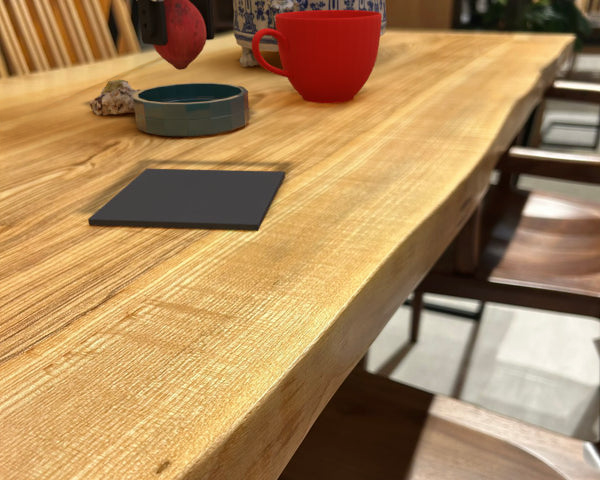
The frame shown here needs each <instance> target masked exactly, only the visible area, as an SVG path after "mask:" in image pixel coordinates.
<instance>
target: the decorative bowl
mask: <svg viewBox="0 0 600 480" xmlns="http://www.w3.org/2000/svg"><path fill="white" fill-rule="evenodd" d="M232 4H233V5H232V6H233V7H232V8H233V27H232V28H233V36H234V38H235V42H236V44H237V45H238V46H240V47H241V50H242V51H241V56H240V58H239V64H240V66H241V68H243V67H244V68H249V67H254V66H259V65H260V64H259V63H258V62H257V60H256V59H255V57H254V55H253V52H252V39H253V37H254V35H255V34H256V32H258V31H259V30H261V29H266V28H269V29H274V30H276V22H275V15H277V14H280V13H287V12H298V11H316V10H361V11H374V12H379V13H381V16H382V20H381V32H380V37H383V36H384V35H385V34H386V28H387V8H386V7H387V6H386V0H232ZM259 50H260V51H265V52H275V53H276V52H277V53H279V49H278V42H277V40H276V38H274V37H273V36H271V35H265V36H263V37H262V38H261V40H260V43H259Z"/></svg>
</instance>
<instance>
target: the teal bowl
mask: <svg viewBox="0 0 600 480" xmlns="http://www.w3.org/2000/svg"><path fill="white" fill-rule="evenodd" d="M139 90H140V91H138V92H136V93H134V94H133V102H134V109H135V112H134V116H135V123H136V129H137V130H139V131H142V132H144V133H147V134H149V135H157V136H163V137H172V138H173V137H174V138H189V137H190V138H191V137H203V136H204V137H206V136H213V135H218V134H223V133H228V132H230V131H234V130H236V129H239V128H241V127H244V126H246V125H247V124H248V123H249V121H250V106H249V90H247V89H246V87H244V86H241V85H237V84H233V83H224V82H182V83H171V84H163V85H157V86H151V87H146V88H142V89H139Z"/></svg>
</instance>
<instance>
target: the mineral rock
mask: <svg viewBox="0 0 600 480" xmlns="http://www.w3.org/2000/svg"><path fill="white" fill-rule="evenodd" d="M140 90H141V89H134V88H132V87H131V85H130V84H129V81H127V80H124V79H116V80H108V81H107V82H106V84H105V86H104V87H103V89H102V90H101V91H100V94H99V96H97V97H95V98H94V99H92V100H91V101H90V102H89V106H90V108H91V109H92V112H93V113H94V114H95V115H96V116H110V115H114V116H117V115H123V114H128V113H129V114H130V113H133V114H135V109H134V102H133V94H134V93H136V92H138V91H140Z"/></svg>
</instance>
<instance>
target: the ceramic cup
mask: <svg viewBox="0 0 600 480" xmlns="http://www.w3.org/2000/svg"><path fill="white" fill-rule="evenodd" d="M381 20H382V16H381V13H379V12H374V11H361V10H316V11H298V12H287V13H280V14H277V15H275V22H276V30H274V29H269V28H266V29H261V30H259V31H258V32H256V34H255V35H254V37H253V39H252V52H253V55H254V57H255V59H256V60H257V62H258V63H259V64H258V65H259V66H260V67H262V68H263V69H264V70H266V71H267V72H269V73H272V74H274V75H278V76H281V77H284V78H287V80H288V81H289V83H290V85H291V86H292V87H293V89H294V90H295V91H296V93H297V94H298V95H299V96H300V97H301V98H302V101H303V102H304V101H305V102H308V103H311V104H313V103H314V104H327V105H329V104H341V103H347V102H351V101H353V100H354V99H355V97H356V95H358V93H359V92H360V91H361V90H362V89H363V88H364V86H365V85H366V83H367V81H368V80H369V78H370V76H371V75H372V72H373V69H374V67H375V64H376V60H377V56H378V52H379V46H380V40H381V36H380V32H381ZM265 35H271V36H273V37H274V38H276V40H277V42H278V49H279V52H278V54H279V59H280V63H281V66H282V69H281V68H278V67H275V66H274V65H271V64H270V63H268V62H267V60H265V59H264V57H263V55H262V53H261V50H259V43H260V40H261V38H262V37H263V36H265Z"/></svg>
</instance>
